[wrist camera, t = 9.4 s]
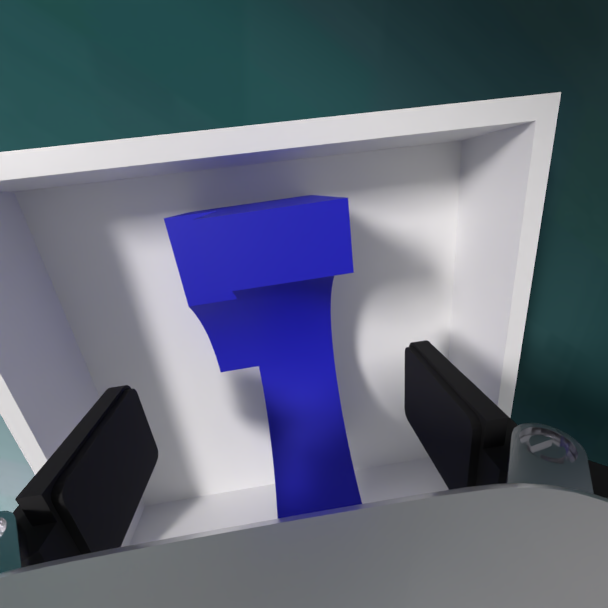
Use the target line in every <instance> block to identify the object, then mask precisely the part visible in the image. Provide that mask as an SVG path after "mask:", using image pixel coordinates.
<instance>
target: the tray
mask: <svg viewBox="0 0 608 608" xmlns="http://www.w3.org/2000/svg"><path fill="white" fill-rule="evenodd" d="M560 97H561V92H556V93H547V94H538V95H528V96H519V97H510V98H500V99H491V100H482V101H473V102H463V103H454V104H445V105H435V106H426V107H417V108H407V109H398V110H389V111H379V112H370V113H361V114H352V115H342V116H333V117H324V118H314V119H305V120H296V121H286V122H277V123H268V124H258V125H249V126H240V127H231V128H221V129H212V130H203V131H193V132H184V133H175V134H165V135H156V136H147V137H137V138H128V139H119V140H110V141H100V142H91V143H82V144H72V145H63V146H54V147H44V148H35V149H26V150H16V151H7V152H0V414H1V416H2V417H3V419H4V421H5V423H6V424H7V426H8V428H9V430H10V431H11V433H12V435H13V437H14V439H15V440H16V442H17V444H18V446H19V447H20V449H21V451H22V453H23V454H24V456H25V458H26V460H27V461H28V463H29V465H30V467H31V468H32V470H33V472H34V474H35V475H36V474H37V472H38V471H39V470H40V469H41V468H42V466H43V465H44V464H45V463H46V462H47V460H48V459H49V458H50V457H51V456H52V454H53V453H54V452H55V451H56V450H57V448H58V447H59V446H60V445H61V444H62V442H63V441H64V440H65V439H66V438H67V436H68V435H69V434H70V433H71V432H72V430H73V429H74V428H75V427H76V426H77V424H78V423H79V422H80V421H81V420H82V418H83V417H84V416H85V415H86V414H87V413H88V411H89V410H90V409H91V408H92V407H93V405H94V404H95V403H96V402H97V401H98V399H99V398H100V397H101V396H102V395H103V393H104V392H105V391H106V390H107V389H108V388H111V387H117V386H124V385H128V386H130V387H131V389H133V388H134V389H135V390H136V391H137V393H138V396H139V399H140V401H141V404H142V407H143V410H144V412H145V415H146V418H147V421H148V423H149V426H150V429H151V432H152V434H153V437H154V440H155V443H156V445H157V448H158V460H157V463H156V465H155V467H154V470H153V472H152V474H151V477H150V479H149V481H148V484H147V486H146V488H145V491H144V493H143V496H142V498H141V500H140V503H139V505H138V507H137V510H136V512H135V514H134V517H133V519H132V521H131V524H130V526H129V528H128V531H127V533H126V535H125V538H124V540H123V543H122V545H121V547H124V546H129V545H135V544H140V543H146V542H151V541H157V540H162V539H167V538H173V537H178V536H184V535H189V534H195V533H200V532H206V531H211V530H217V529H222V528H228V527H234V526H239V525H245V524H250V523H256V522H262V521H267V520H273V519H278V516H277V501H276V488H275V476H274V466H273V456H272V447H271V439H270V431H269V423H268V416H267V409H266V403H265V397H264V391H263V385H262V380H261V375H260V370H259V366H256V367H250V368H244V369H238V370H232V371H226V372H220V368H219V365H218V361H217V358H216V355H215V352H214V350H213V347H212V344H211V342H210V340H209V337H208V335H207V333H206V331H205V329H204V327H203V326H202V324H201V322H200V320H199V319H198V318H197V316H196V315H195V313H194V312H193V311H192V310H191V309H190V308H189V306H188V303H187V299H186V296H185V292H184V289H183V285H182V282H181V278H180V275H179V271H178V267H177V264H176V260H175V257H174V253H173V250H172V246H171V243H170V239H169V236H168V232H167V229H166V225H165V222H164V218H167V217H171V216H175V215H180V214H184V213H188V212H193V211H200V210H207V209H214V208H221V207H228V206H235V205H242V204H249V203H257V202H264V201H271V200H278V199H285V198H292V197H299V196H306V195H319V196H332V197H345V198H348V204H349V217H350V230H351V244H352V257H353V270H354V273H348V274H342V275H335V276H334V279H333V284H332V291H331V330H332V343H333V353H334V362H335V369H336V377H337V384H338V390H339V396H340V402H341V408H342V414H343V419H344V424H345V430H346V435H347V440H348V445H349V449H350V454H351V459H352V463H353V468H354V472H355V476H356V481H357V485H358V489H359V493H360V497H361V501H362V504H365V503H371V502H377V501H382V500H388V499H394V498H400V497H406V496H412V495H419V494H425V493H432V492H438V491H445V490H449V489H448V487H447V485H446V484H445V482H444V480H443V479H442V477H441V475H440V474H439V472H438V470H437V469H436V467H435V465H434V464H433V462H432V460H431V459H430V457H429V455H428V454H427V452H426V450H425V448H424V447H423V445H422V443H421V442H420V440H419V438H418V437H417V435H416V433H415V432H414V430H413V428H412V427H411V425H410V423H409V422H408V420H407V418H406V415H405V409H404V398H405V348H406V347H409V345H410V343H411V342H418V341H424V340H427V341H429V342H430V343H431V344H432V345H433V346H434V347H435V348H436V349H437V350H438V351H440V352H441V353H442V354H443V355H444V356H445V357H446V358H447V359H448V360H449V361H450V362H451V363H452V364H453V365H454V366H455V367H456V368H457V369H458V370H460V371H461V372H462V373H463V374H464V375H465V376H466V377H467V378H468V379H469V380H470V381H471V382H473V383H474V384H475V385H476V386H477V387H478V388H479V389H480V390H481V391H482V392H483V393H484V394H485V395H486V396H487V397H488V398H489V399H490V400H492V401H493V402H494V403H495V404H496V405H497V406H498V407H499V408H500V409H501V410H502V411H503V412H504V413H505V414H506V415H507V416H508V417H509V418H511V412H512V405H513V399H514V392H515V386H516V379H517V373H518V367H519V360H520V354H521V347H522V341H523V335H524V328H525V322H526V315H527V309H528V303H529V296H530V290H531V283H532V277H533V270H534V264H535V258H536V251H537V245H538V238H539V232H540V226H541V219H542V213H543V206H544V200H545V193H546V187H547V181H548V174H549V168H550V161H551V155H552V149H553V142H554V136H555V129H556V123H557V117H558V110H559V104H560Z"/></svg>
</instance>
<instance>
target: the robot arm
mask: <svg viewBox="0 0 608 608" xmlns="http://www.w3.org/2000/svg"><path fill="white" fill-rule="evenodd" d="M404 409H405V415H406V418H407V420H408V422H409V423H410V425H411V427H412V428H413V430H414V432H415V433H416V435H417V437H418V438H419V440H420V442H421V443H422V445H423V447H424V448H425V450H426V452H427V454H428V455H429V457H430V459H431V460H432V462H433V464H434V465H435V467H436V469H437V470H438V472H439V474H440V475H441V477H442V479H443V480H444V482H445V484H446V485H447V487H448V489H449V490H445V491H438V492H432V493H425V494H419V495H412V496H406V497H400V498H394V499H388V500H382V501H377V502H371V503H365V504H359V505H353V506H347V507H342V508H336V509H330V510H324V511H318V512H313V513H307V514H301V515H296V516H290V517H284V518H279V519H273V520H267V521H262V522H256V523H250V524H245V525H239V526H234V527H228V528H222V529H217V530H211V531H206V532H200V533H195V534H189V535H184V536H178V537H173V538H167V539H162V540H157V541H151V542H146V543H140V544H135V545H129V546H124V547H121V545H122V543H123V540H124V538H125V535H126V533H127V531H128V528H129V526H130V524H131V521H132V519H133V517H134V514H135V512H136V510H137V507H138V505H139V503H140V500H141V498H142V496H143V493H144V491H145V488H146V486H147V484H148V481H149V479H150V477H151V474H152V472H153V470H154V467H155V465H156V463H157V460H158V448H157V445H156V443H155V440H154V437H153V434H152V432H151V429H150V426H149V423H148V421H147V418H146V415H145V412H144V410H143V407H142V404H141V401H140V399H139V396H138V393H137V391H136V390H135V389H134V388H133V389H131V387H130V386H128V385H124V386H117V387H111V388H108V389H107V390H106V391H105V392H104V393H103V395H102V396H101V397H100V398H99V399H98V401H97V402H96V403H95V404H94V405H93V407H92V408H91V409H90V410H89V411H88V413H87V414H86V415H85V416H84V417H83V418H82V420H81V421H80V422H79V423H78V424H77V426H76V427H75V428H74V429H73V430H72V432H71V433H70V434H69V435H68V436H67V438H66V439H65V440H64V441H63V442H62V444H61V445H60V446H59V447H58V448H57V450H56V451H55V452H54V453H53V454H52V456H51V457H50V458H49V459H48V460H47V462H46V463H45V464H44V465H43V466H42V468H41V469H40V470H39V471H38V472H37V474H36V475H35V476H34V477H33V478H32V480H31V481H30V482H29V483H28V484H27V486H26V487H25V488H24V489H23V490H22V492H21V493H20V494H19V495H18V496H17V498H16V501H17V503H18V504H19V506H18V507H17V508H16V509H15V511H14V512H13V513H12V512H9V511H0V608H608V467H607V466H604V465H601V464H598V463H595V462H592V461H589V460H588V459H587V455H586V452H585V450H584V448H583V447H582V446H581V445H580V444H579V442H578V441H577V440H575V439H574V438H572V437H571V436H570V435H568V434H567V433H565V432H563V431H561V430H559V429H557V428H554V427H551V426H548V425H544V424H538V423H524V424H520V425H517V424H516V423H515V422H514V421H513V420H512V419H511V418H509V417H508V416H507V415H506V414H505V413H504V412H503V411H502V410H501V409H500V408H499V407H498V406H497V405H496V404H495V403H494V402H493V401H492V400H490V399H489V398H488V397H487V396H486V395H485V394H484V393H483V392H482V391H481V390H480V389H479V388H478V387H477V386H476V385H475V384H474V383H473V382H471V381H470V380H469V379H468V378H467V377H466V376H465V375H464V374H463V373H462V372H461V371H460V370H458V369H457V368H456V367H455V366H454V365H453V364H452V363H451V362H450V361H449V360H448V359H447V358H446V357H445V356H444V355H443V354H442V353H441V352H440V351H438V350H437V349H436V348H435V347H434V346H433V345H432V344H431V343H430V342H429V341H427V340H424V341H418V342H411V343H410V345H409V347H406V348H405V398H404Z"/></svg>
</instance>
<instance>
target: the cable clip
mask: <svg viewBox="0 0 608 608" xmlns="http://www.w3.org/2000/svg"><path fill="white" fill-rule="evenodd" d="M164 222H165V225H166V229H167V232H168V236H169V239H170V243H171V246H172V250H173V253H174V257H175V260H176V264H177V267H178V271H179V275H180V278H181V282H182V285H183V289H184V292H185V296H186V299H187V303H188V306H189V308H190V309H191V310H192V311H193V312H194V313H195V315H196V316H197V318H198V319H199V320H200V322H201V324H202V326H203V327H204V329H205V331H206V333H207V335H208V337H209V340H210V342H211V344H212V347H213V350H214V352H215V355H216V358H217V361H218V365H219V368H220V372H226V371H232V370H238V369H244V368H250V367H256V366H259V370H260V375H261V380H262V385H263V391H264V397H265V403H266V409H267V416H268V423H269V431H270V439H271V447H272V456H273V466H274V476H275V488H276V501H277V516H278V519H279V518H284V517H290V516H296V515H301V514H307V513H313V512H318V511H324V510H330V509H336V508H342V507H347V506H353V505H359V504H362V501H361V497H360V493H359V489H358V485H357V481H356V476H355V472H354V468H353V463H352V459H351V454H350V449H349V445H348V440H347V435H346V430H345V424H344V419H343V414H342V408H341V402H340V396H339V390H338V384H337V377H336V369H335V362H334V353H333V343H332V330H331V291H332V284H333V279H334V276H335V275H342V274H348V273H354V270H353V257H352V244H351V230H350V217H349V204H348V198H345V197H332V196H319V195H306V196H299V197H292V198H285V199H278V200H271V201H264V202H257V203H249V204H242V205H235V206H228V207H221V208H214V209H207V210H200V211H193V212H188V213H184V214H180V215H175V216H171V217H167V218H164Z"/></svg>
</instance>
